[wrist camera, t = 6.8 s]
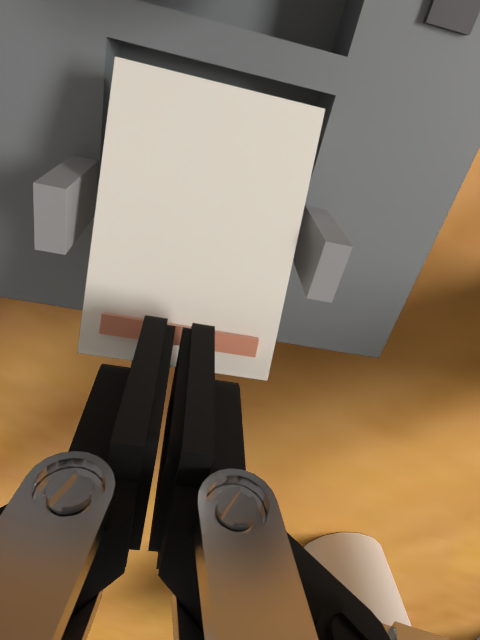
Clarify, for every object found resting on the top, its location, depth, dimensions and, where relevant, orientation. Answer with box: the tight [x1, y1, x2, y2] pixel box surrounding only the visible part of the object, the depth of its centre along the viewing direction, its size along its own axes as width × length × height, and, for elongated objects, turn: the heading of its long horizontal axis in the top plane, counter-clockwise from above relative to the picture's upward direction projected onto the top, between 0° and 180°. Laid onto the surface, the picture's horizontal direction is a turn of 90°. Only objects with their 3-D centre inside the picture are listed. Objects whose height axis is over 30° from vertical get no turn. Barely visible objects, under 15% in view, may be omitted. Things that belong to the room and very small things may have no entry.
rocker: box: [77, 57, 325, 381], centre depth 11 cm, size 7×5×1 cm
